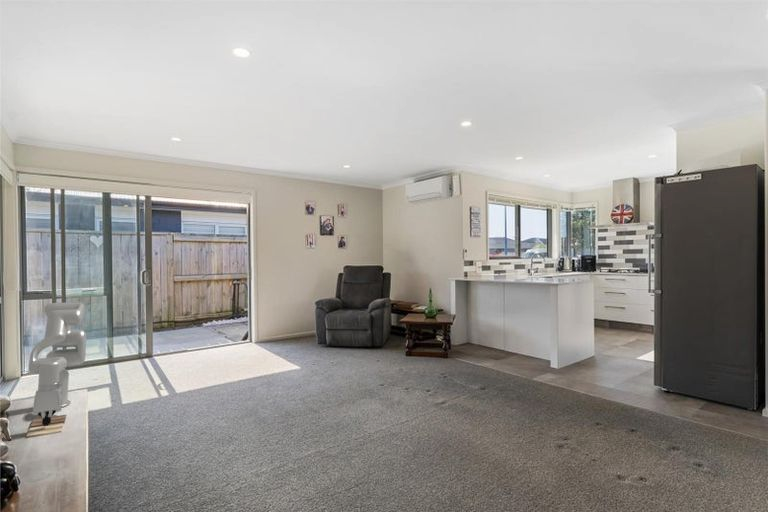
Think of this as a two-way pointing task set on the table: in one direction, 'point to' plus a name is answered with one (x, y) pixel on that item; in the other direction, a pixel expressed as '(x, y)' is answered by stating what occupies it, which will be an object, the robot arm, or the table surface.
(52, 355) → the robot arm
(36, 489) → the table surface
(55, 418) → the walnut board
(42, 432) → the oak plank
